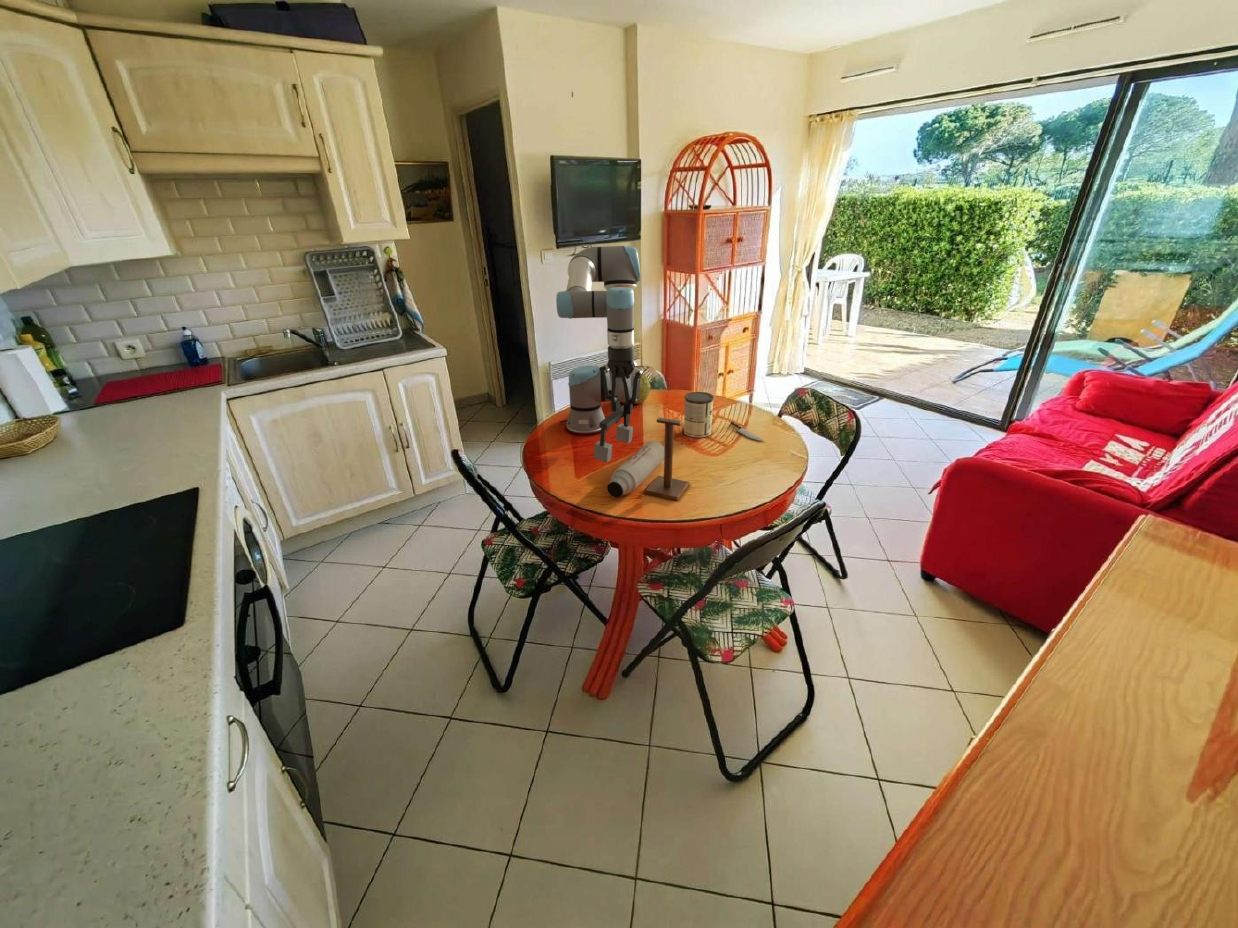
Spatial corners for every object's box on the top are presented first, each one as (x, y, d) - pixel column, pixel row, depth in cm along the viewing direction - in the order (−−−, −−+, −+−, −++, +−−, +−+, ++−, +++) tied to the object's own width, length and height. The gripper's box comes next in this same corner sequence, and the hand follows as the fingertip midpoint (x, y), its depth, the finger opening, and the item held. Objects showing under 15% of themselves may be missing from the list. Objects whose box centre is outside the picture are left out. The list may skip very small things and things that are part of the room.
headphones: (593, 458, 150) (596, 421, 144) (619, 436, 163) (623, 402, 157) (606, 462, 148) (609, 425, 142) (631, 440, 162) (635, 405, 156)
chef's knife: (756, 443, 180) (763, 441, 181) (757, 441, 179) (764, 439, 180) (725, 425, 195) (732, 423, 196) (725, 422, 195) (732, 420, 196)
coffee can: (683, 426, 195) (684, 391, 189) (710, 427, 194) (712, 391, 188) (683, 437, 186) (685, 400, 179) (712, 438, 185) (714, 401, 178)
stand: (645, 493, 149) (645, 423, 140) (658, 478, 157) (659, 412, 148) (677, 500, 145) (680, 429, 136) (689, 485, 153) (692, 417, 144)
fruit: (615, 410, 212) (605, 375, 211) (621, 411, 226) (611, 378, 225) (653, 398, 209) (642, 363, 208) (656, 399, 223) (646, 366, 223)
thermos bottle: (642, 439, 166) (600, 476, 144) (664, 441, 162) (625, 479, 140) (644, 462, 169) (603, 500, 147) (666, 464, 165) (628, 504, 143)
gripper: (590, 345, 144) (593, 422, 155) (640, 351, 138) (640, 431, 148) (602, 340, 150) (605, 414, 161) (651, 345, 144) (650, 422, 154)
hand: (622, 422), depth 155 cm, fingers closed on headphones, 3 cm apart
